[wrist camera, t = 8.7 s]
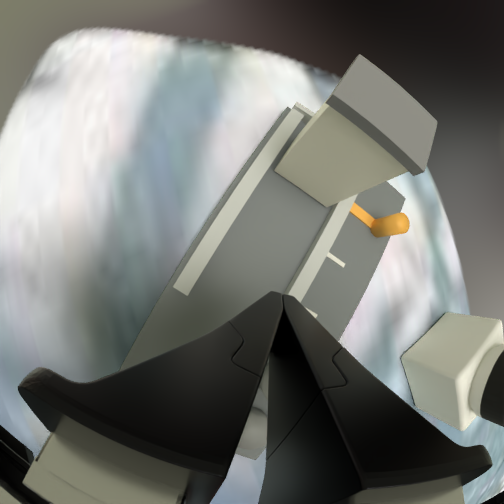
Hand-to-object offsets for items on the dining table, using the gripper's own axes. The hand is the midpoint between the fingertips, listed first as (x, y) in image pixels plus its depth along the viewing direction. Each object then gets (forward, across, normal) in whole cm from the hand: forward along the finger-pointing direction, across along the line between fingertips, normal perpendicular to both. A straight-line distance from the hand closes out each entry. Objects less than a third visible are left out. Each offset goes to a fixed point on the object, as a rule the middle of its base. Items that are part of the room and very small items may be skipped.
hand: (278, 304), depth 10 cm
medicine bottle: (+9, +18, -10) cm, 22 cm away
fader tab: (+13, +1, +2) cm, 13 cm away
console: (+8, 0, -5) cm, 9 cm away
